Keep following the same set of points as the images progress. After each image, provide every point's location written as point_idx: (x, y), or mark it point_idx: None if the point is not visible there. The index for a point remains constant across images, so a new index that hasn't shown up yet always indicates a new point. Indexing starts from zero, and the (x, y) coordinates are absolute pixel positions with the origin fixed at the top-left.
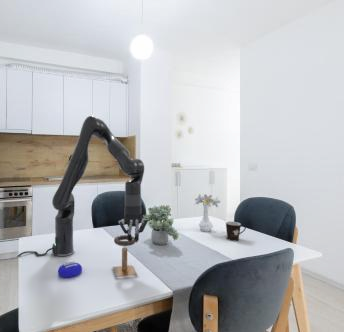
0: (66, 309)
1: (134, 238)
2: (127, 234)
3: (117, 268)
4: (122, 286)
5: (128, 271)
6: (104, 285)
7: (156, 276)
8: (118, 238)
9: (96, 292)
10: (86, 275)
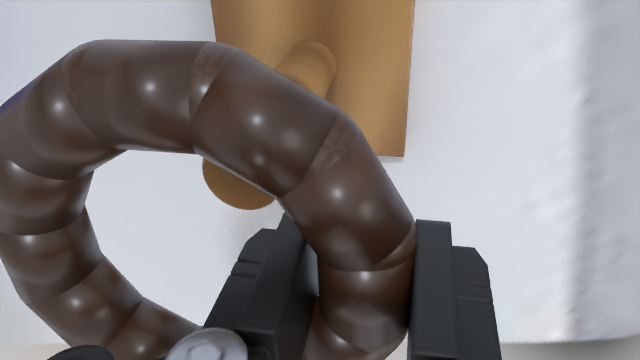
0: (19, 308)
1: (371, 354)
2: (204, 326)
3: (247, 10)
4: (271, 227)
5: (343, 94)
6: (157, 188)
7: (576, 177)
8: (53, 212)
9: (120, 239)
10: (4, 26)
